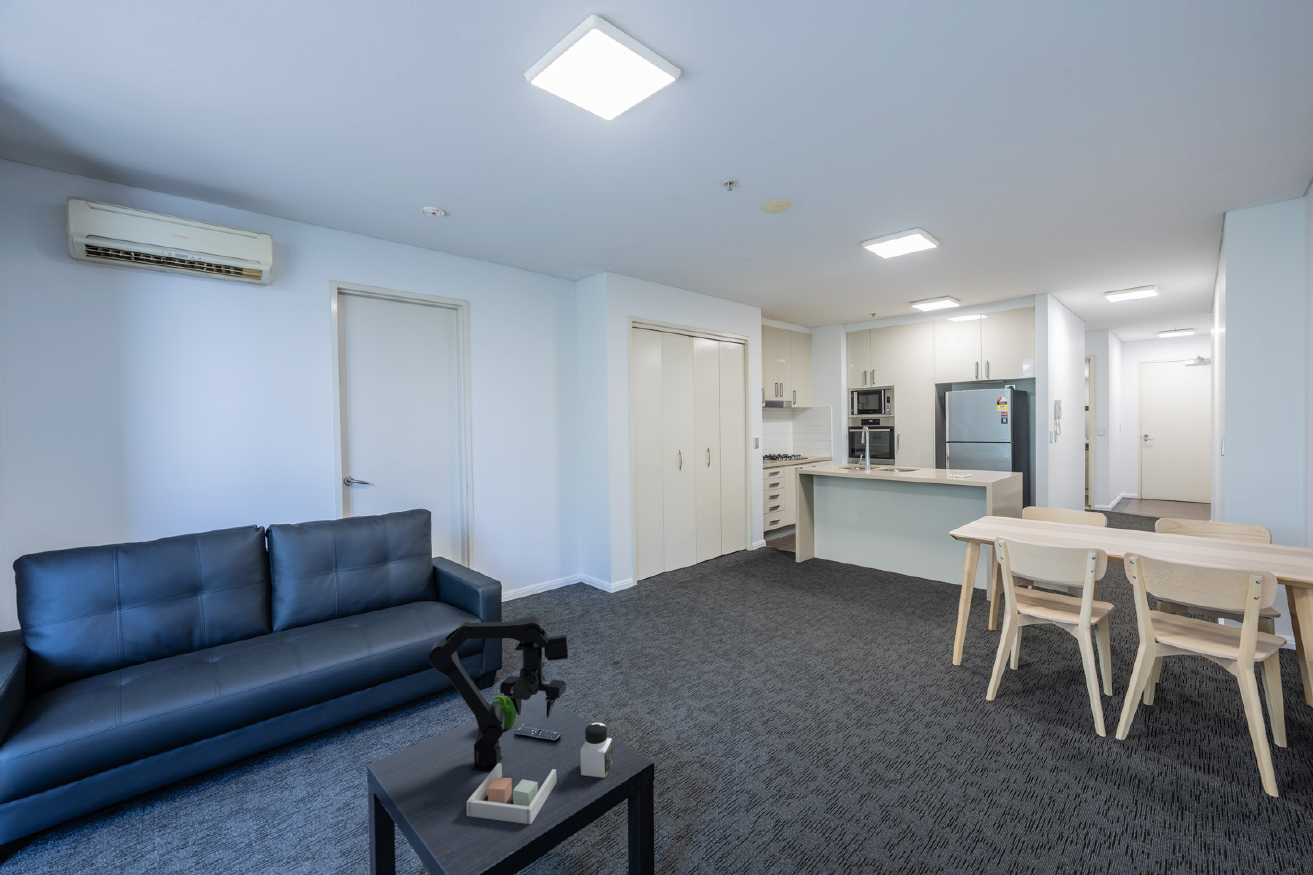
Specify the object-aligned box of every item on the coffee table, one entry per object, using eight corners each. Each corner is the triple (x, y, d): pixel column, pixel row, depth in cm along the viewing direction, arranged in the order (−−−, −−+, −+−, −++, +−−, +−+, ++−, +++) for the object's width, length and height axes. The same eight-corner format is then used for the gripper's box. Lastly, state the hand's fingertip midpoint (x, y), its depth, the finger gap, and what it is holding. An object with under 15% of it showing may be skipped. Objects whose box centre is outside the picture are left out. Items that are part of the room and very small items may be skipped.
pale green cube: (513, 805, 137) (513, 790, 137) (522, 794, 141) (522, 779, 141) (529, 809, 136) (528, 793, 136) (538, 797, 140) (537, 782, 140)
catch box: (466, 815, 134) (466, 801, 134) (498, 775, 149) (498, 763, 149) (530, 824, 130) (530, 809, 130) (556, 782, 146) (556, 769, 146)
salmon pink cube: (488, 803, 138) (487, 788, 138) (495, 792, 143) (495, 777, 143) (504, 804, 138) (504, 789, 138) (511, 793, 142) (511, 778, 142)
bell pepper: (521, 719, 179) (521, 689, 179) (511, 733, 171) (510, 701, 171) (497, 718, 180) (497, 688, 180) (486, 731, 172) (485, 700, 172)
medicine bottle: (605, 778, 147) (604, 734, 147) (580, 775, 149) (579, 732, 149) (612, 762, 154) (611, 720, 154) (588, 760, 156) (588, 718, 156)
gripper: (488, 671, 152) (490, 727, 152) (550, 677, 148) (551, 734, 148) (508, 656, 163) (509, 707, 163) (566, 660, 159) (567, 713, 159)
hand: (533, 715), depth 158 cm, fingers open, 9 cm apart
